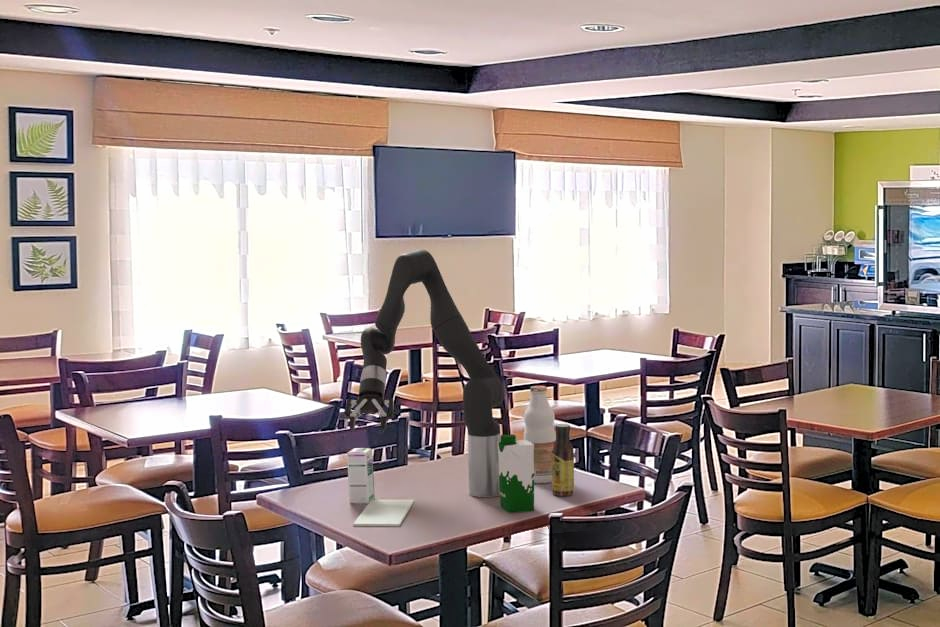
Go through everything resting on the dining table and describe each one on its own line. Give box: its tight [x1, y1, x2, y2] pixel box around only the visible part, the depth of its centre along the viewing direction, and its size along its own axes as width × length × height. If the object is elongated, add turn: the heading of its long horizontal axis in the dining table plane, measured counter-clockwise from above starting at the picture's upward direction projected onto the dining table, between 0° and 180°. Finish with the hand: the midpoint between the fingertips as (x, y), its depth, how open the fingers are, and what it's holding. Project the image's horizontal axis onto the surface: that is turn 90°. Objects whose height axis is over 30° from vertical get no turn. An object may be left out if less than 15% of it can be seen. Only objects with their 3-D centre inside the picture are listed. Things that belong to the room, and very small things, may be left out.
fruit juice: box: [523, 385, 556, 484], centre depth 313 cm, size 9×9×28 cm
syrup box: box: [346, 447, 376, 505], centre depth 294 cm, size 6×6×14 cm
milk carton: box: [497, 433, 535, 514], centre depth 282 cm, size 9×9×20 cm
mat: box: [352, 499, 415, 527], centre depth 281 cm, size 12×24×1 cm, turn 174°
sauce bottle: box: [551, 423, 575, 497], centre depth 295 cm, size 6×6×20 cm
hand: (367, 429), depth 305 cm, fingers open, 8 cm apart
